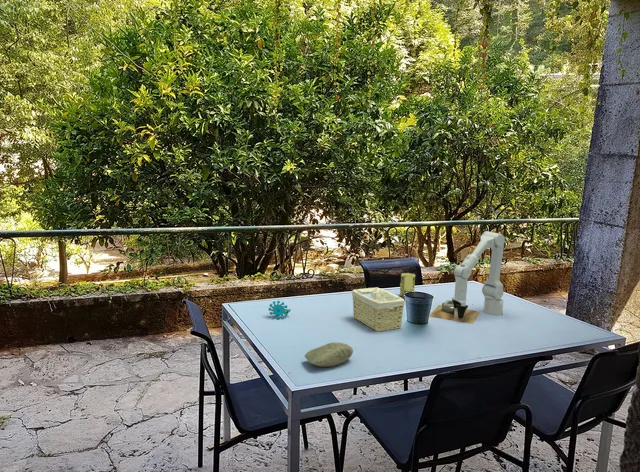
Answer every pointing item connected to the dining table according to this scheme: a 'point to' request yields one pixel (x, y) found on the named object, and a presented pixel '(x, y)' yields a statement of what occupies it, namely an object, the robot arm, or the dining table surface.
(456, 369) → the dining table surface
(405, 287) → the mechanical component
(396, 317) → the storage basket
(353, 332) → the dining table surface
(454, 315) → the flanged cap
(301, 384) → the dining table surface
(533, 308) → the dining table surface
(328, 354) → the rock
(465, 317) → the board
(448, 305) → the grey round socket base
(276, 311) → the teal virus model
